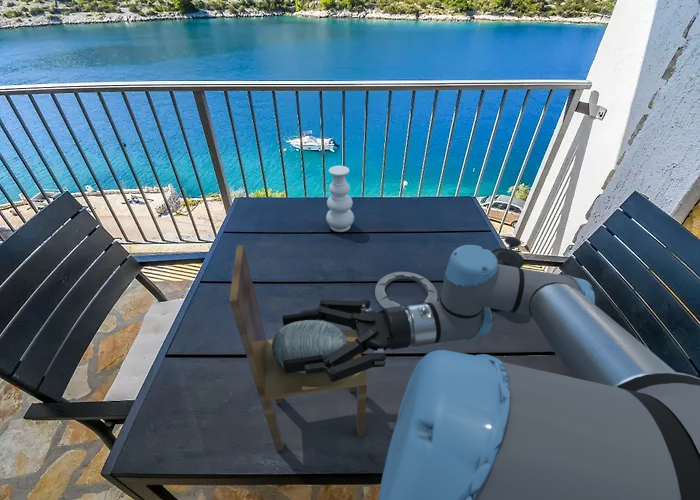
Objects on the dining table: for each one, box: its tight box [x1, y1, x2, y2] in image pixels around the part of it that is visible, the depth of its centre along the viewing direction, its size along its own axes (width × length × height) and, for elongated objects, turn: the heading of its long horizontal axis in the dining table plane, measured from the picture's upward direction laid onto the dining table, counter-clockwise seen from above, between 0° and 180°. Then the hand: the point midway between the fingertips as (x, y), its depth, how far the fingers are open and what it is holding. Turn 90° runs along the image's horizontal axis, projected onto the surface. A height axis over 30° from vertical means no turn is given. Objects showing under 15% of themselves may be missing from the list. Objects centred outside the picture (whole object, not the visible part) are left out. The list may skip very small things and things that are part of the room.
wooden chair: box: [228, 244, 368, 452], centre depth 65 cm, size 12×19×46 cm, turn 100°
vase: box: [325, 165, 355, 233], centre depth 131 cm, size 11×11×25 cm
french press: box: [490, 236, 525, 312], centre depth 100 cm, size 12×9×23 cm
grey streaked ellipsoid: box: [272, 320, 347, 374], centre depth 64 cm, size 14×10×10 cm
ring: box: [374, 271, 438, 310], centre depth 109 cm, size 19×19×2 cm
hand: (283, 343), depth 62 cm, fingers closed on grey streaked ellipsoid, 9 cm apart
